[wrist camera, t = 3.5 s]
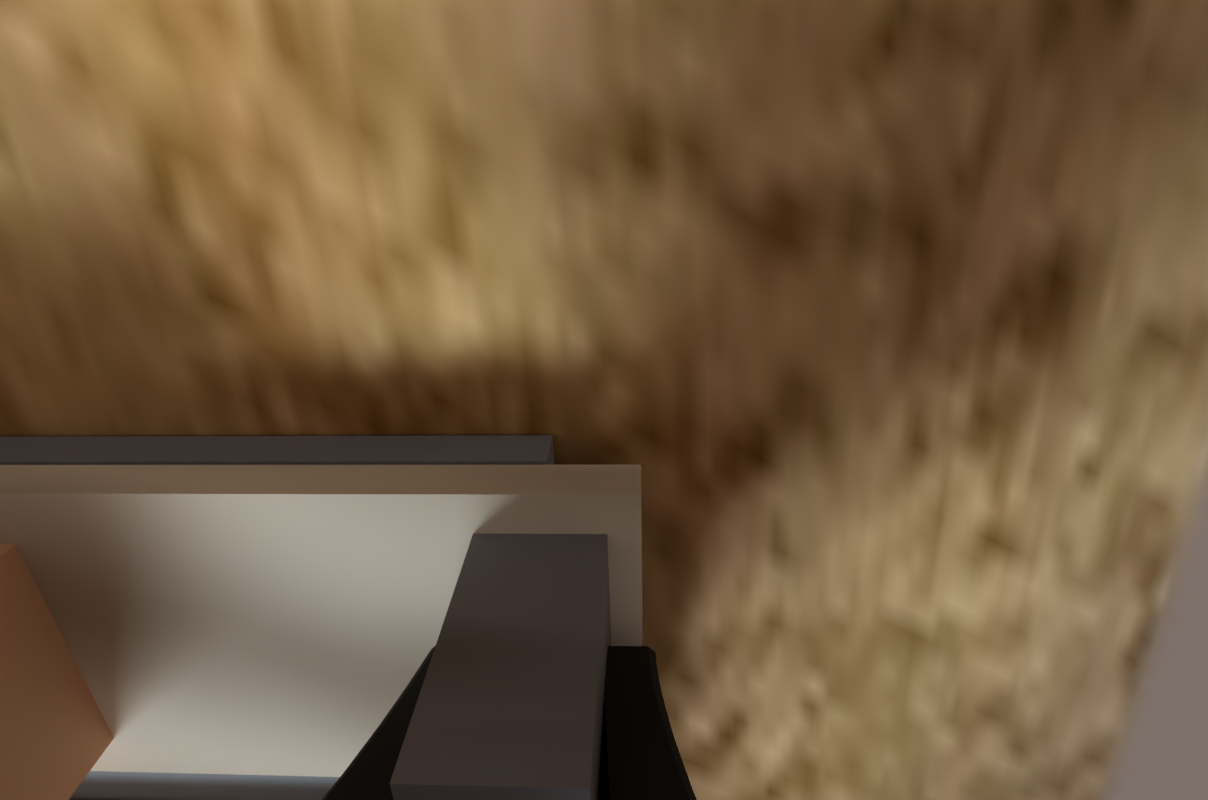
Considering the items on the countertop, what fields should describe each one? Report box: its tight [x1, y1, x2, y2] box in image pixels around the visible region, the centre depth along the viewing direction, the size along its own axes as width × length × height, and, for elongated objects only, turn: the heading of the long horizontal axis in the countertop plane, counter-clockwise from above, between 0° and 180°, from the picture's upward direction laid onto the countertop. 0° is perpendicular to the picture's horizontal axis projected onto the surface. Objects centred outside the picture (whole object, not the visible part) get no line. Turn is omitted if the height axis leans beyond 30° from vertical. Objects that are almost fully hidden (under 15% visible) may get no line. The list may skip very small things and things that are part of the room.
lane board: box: [0, 435, 555, 800], centre depth 15 cm, size 15×17×1 cm
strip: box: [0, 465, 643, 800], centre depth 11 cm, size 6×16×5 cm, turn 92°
